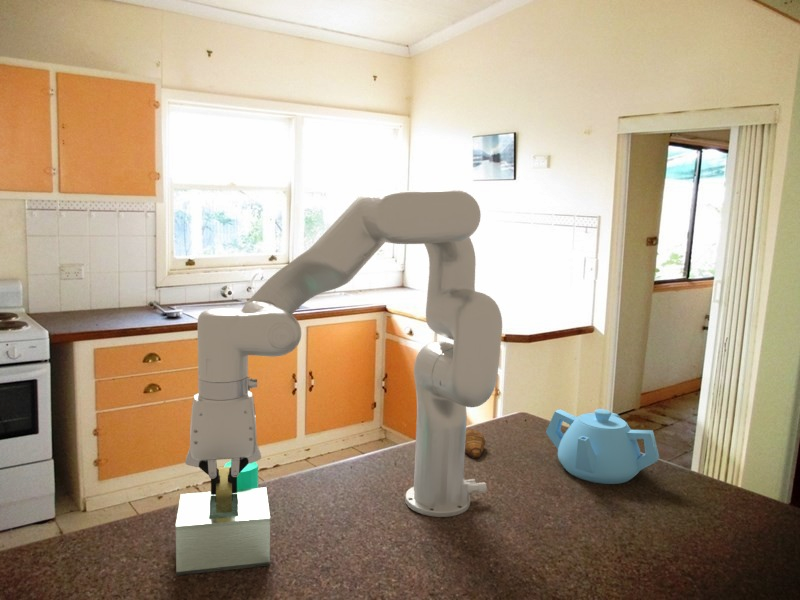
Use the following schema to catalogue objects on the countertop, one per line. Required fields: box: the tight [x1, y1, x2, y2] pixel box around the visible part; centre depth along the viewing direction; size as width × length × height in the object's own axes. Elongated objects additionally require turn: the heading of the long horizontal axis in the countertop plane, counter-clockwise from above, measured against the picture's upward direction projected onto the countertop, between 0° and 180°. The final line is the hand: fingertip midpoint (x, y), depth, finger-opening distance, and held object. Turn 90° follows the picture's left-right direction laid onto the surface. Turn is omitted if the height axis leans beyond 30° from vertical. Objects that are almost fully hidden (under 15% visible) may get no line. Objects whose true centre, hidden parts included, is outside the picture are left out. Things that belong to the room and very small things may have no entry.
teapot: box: [545, 408, 660, 485], centre depth 142 cm, size 19×19×14 cm
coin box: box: [175, 486, 271, 576], centre depth 104 cm, size 14×11×8 cm
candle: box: [223, 460, 259, 490], centre depth 114 cm, size 6×6×12 cm
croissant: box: [465, 429, 486, 460], centre depth 153 cm, size 14×7×5 cm, turn 5°
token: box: [216, 466, 232, 513], centre depth 103 cm, size 2×5×5 cm
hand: (224, 497), depth 103 cm, fingers closed on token, 1 cm apart
